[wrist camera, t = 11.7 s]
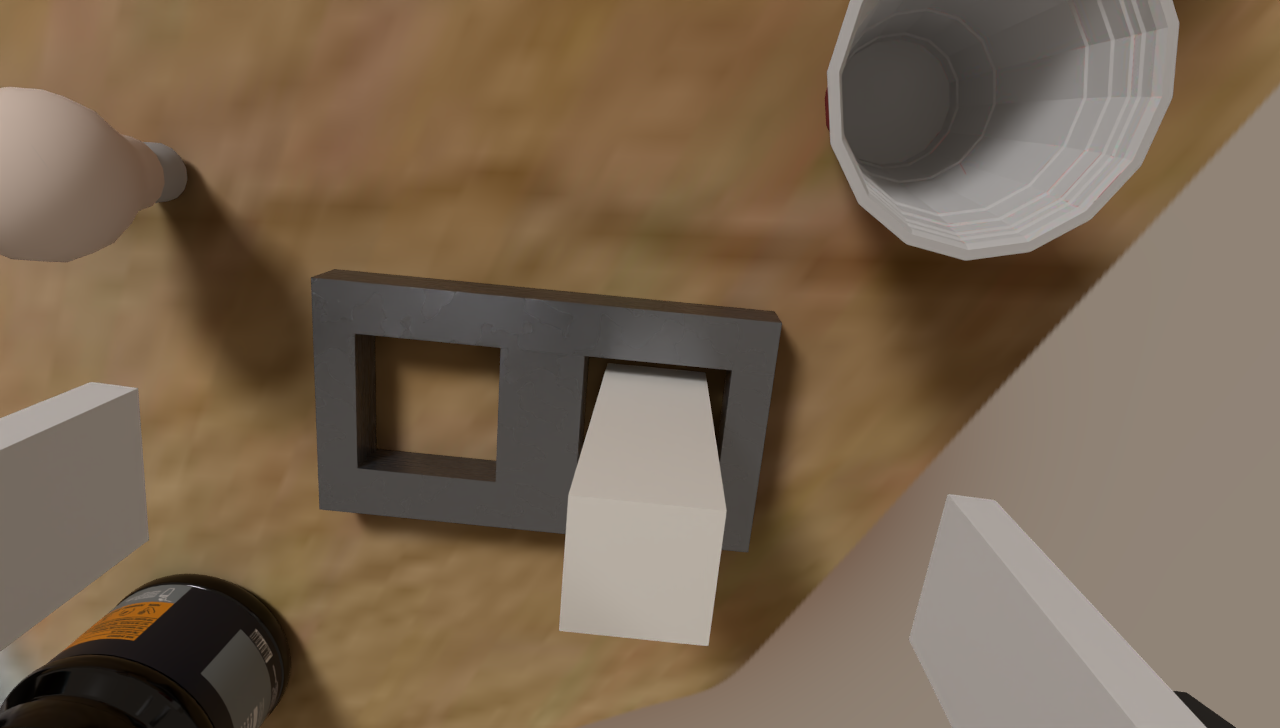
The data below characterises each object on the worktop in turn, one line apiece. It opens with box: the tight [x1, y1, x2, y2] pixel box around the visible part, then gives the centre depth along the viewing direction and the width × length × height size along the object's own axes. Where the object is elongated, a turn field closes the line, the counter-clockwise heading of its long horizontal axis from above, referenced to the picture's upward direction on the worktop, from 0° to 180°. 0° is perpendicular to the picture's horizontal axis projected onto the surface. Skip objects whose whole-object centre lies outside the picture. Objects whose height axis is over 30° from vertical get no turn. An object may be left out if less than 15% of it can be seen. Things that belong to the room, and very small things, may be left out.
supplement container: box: [0, 574, 291, 728], centre depth 38 cm, size 10×10×12 cm
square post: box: [559, 363, 727, 646], centre depth 31 cm, size 5×5×15 cm
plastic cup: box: [825, 0, 1179, 261], centre depth 28 cm, size 11×11×12 cm
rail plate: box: [311, 269, 782, 552], centre depth 37 cm, size 22×12×2 cm, turn 85°
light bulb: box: [0, 87, 187, 262], centre depth 31 cm, size 7×7×11 cm
